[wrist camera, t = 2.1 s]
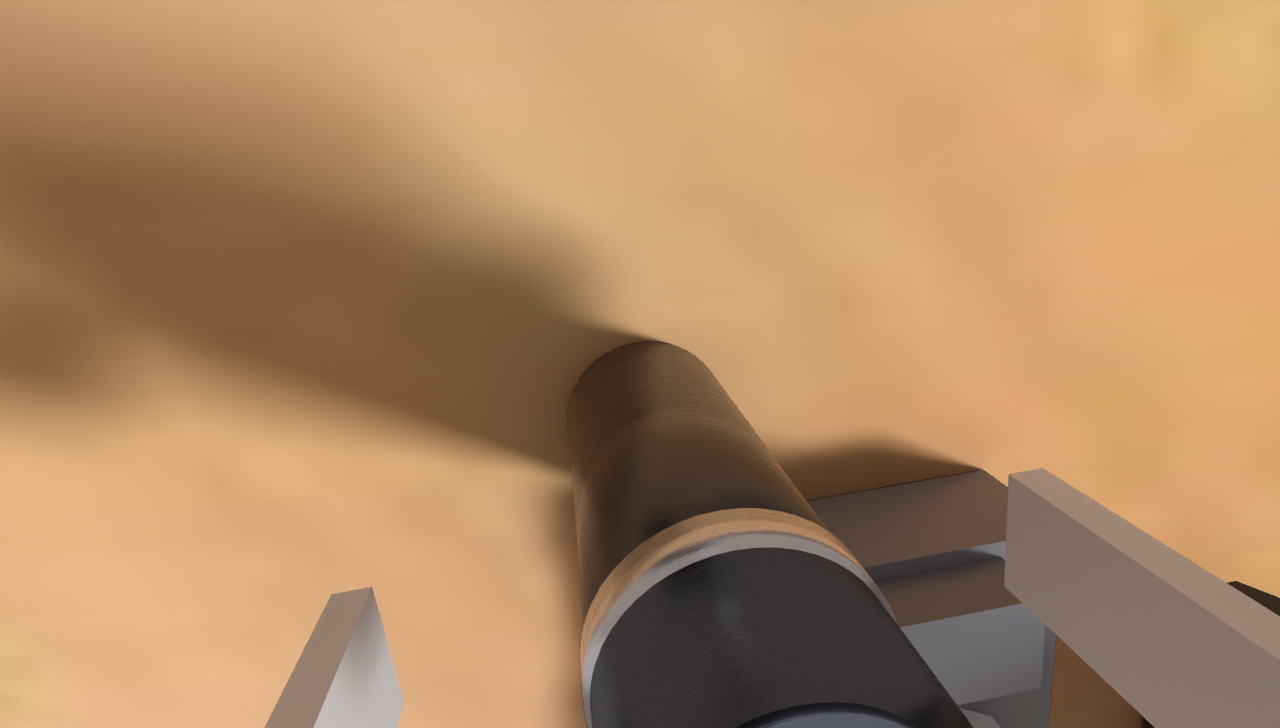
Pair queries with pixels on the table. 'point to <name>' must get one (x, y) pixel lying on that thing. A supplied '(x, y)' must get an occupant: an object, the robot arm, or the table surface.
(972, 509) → the camera body
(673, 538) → the lens
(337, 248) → the table surface
